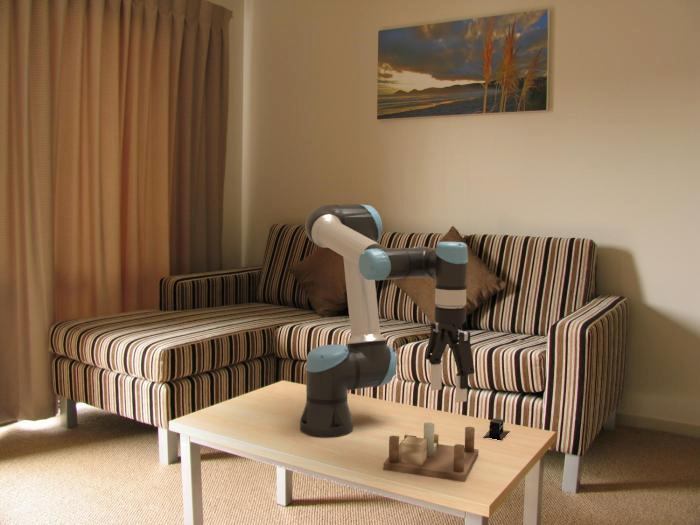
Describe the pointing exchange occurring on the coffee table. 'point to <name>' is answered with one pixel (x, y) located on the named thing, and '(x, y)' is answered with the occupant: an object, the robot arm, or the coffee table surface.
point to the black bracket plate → (496, 430)
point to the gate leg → (430, 438)
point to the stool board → (437, 459)
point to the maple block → (414, 450)
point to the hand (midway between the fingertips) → (448, 395)
